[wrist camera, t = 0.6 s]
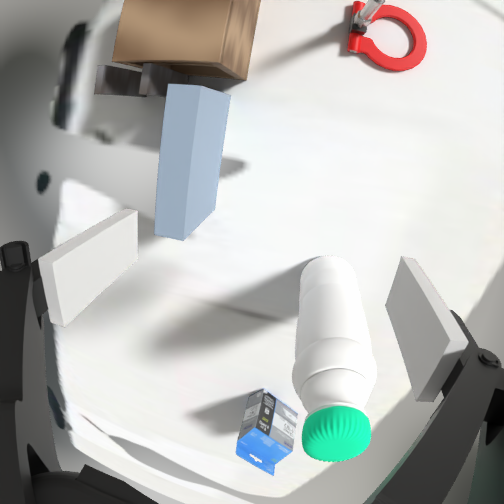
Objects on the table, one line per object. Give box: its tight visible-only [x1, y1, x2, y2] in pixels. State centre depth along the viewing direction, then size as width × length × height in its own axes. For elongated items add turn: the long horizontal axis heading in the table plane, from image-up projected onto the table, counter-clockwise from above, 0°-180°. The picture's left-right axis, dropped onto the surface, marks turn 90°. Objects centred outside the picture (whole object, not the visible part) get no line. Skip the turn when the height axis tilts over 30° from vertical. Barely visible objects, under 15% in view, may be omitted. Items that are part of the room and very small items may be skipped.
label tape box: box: [236, 389, 298, 476], centre depth 46 cm, size 9×4×12 cm, turn 45°
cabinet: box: [94, 0, 261, 97], centre depth 26 cm, size 17×13×12 cm
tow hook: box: [347, 0, 427, 71], centre depth 22 cm, size 8×13×9 cm
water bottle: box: [292, 255, 377, 462], centre depth 29 cm, size 7×7×25 cm
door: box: [154, 84, 231, 241], centre depth 32 cm, size 14×3×11 cm, turn 171°
